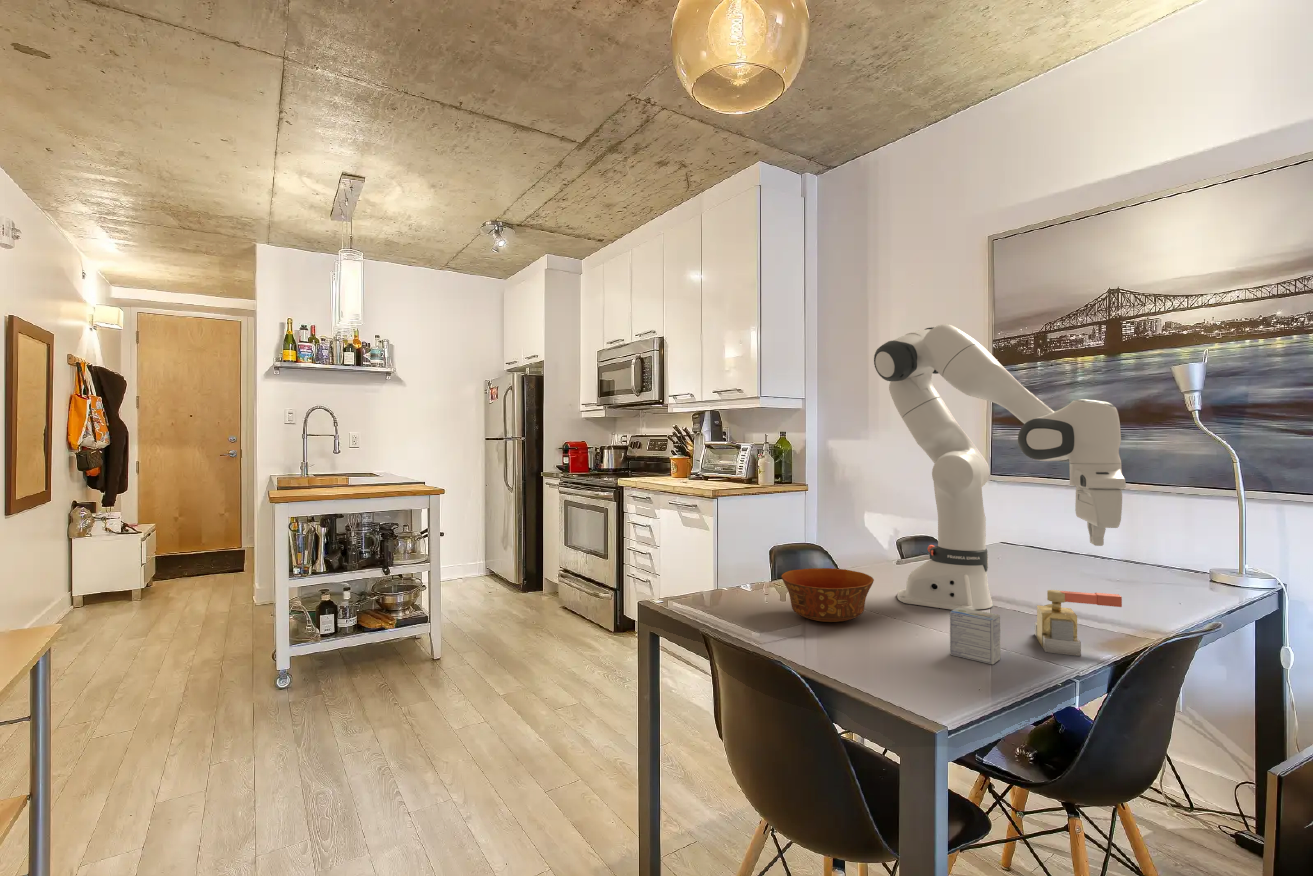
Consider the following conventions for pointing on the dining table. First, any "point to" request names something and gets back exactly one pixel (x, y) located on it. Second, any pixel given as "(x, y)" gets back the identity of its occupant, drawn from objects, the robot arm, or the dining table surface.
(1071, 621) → the valve
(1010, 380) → the robot arm
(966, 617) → the medicine box
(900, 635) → the dining table surface
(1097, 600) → the lever
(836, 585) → the bowl
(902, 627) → the dining table surface
